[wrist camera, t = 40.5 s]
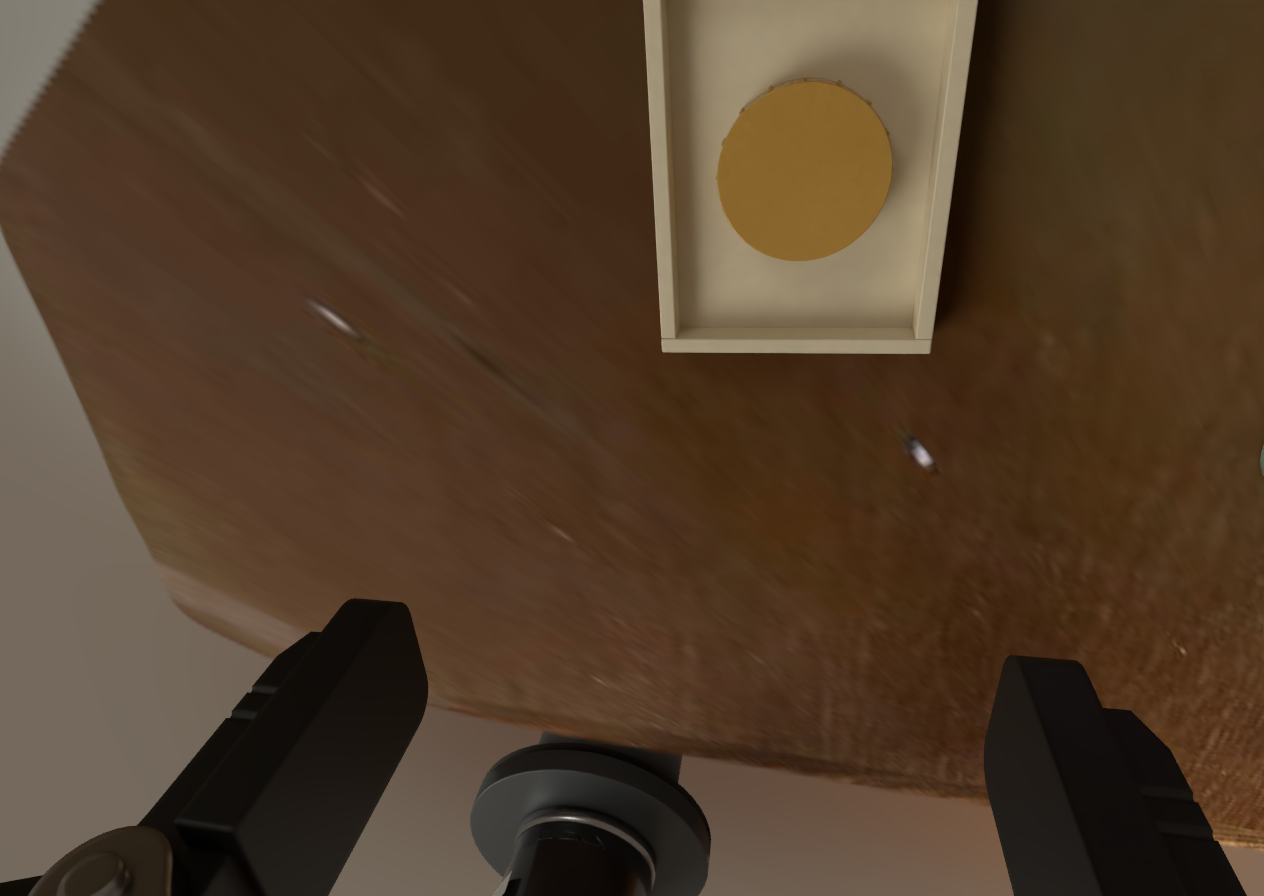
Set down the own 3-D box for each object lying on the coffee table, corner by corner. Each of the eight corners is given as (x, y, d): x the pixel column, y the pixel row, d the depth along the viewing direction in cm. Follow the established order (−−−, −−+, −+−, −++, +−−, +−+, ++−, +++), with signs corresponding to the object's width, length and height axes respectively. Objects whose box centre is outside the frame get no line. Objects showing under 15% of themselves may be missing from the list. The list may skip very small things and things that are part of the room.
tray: (923, 336, 30) (930, 354, 28) (668, 336, 32) (662, 352, 30) (975, -65, 23) (988, -71, 22) (650, -34, 25) (640, -37, 24)
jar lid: (738, 265, 29) (735, 278, 28) (703, 104, 26) (698, 109, 25) (897, 229, 27) (903, 241, 26) (877, 53, 25) (882, 56, 23)
